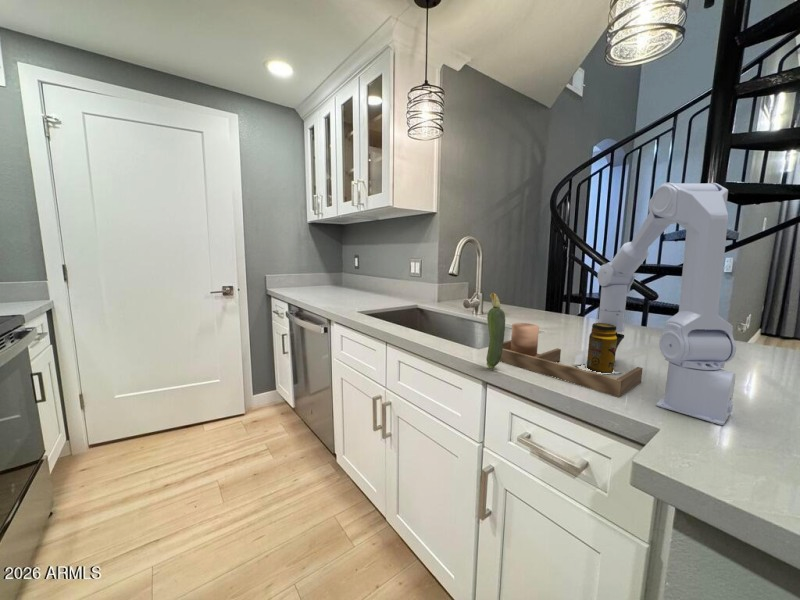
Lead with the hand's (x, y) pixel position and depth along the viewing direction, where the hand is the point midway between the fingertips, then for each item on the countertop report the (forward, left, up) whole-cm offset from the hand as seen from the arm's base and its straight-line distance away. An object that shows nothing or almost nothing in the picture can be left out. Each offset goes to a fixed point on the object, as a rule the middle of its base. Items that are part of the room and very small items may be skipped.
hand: (607, 359), depth 88 cm
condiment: (0, +7, -2) cm, 7 cm away
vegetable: (+16, +28, -2) cm, 32 cm away
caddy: (+6, +14, -1) cm, 16 cm away
